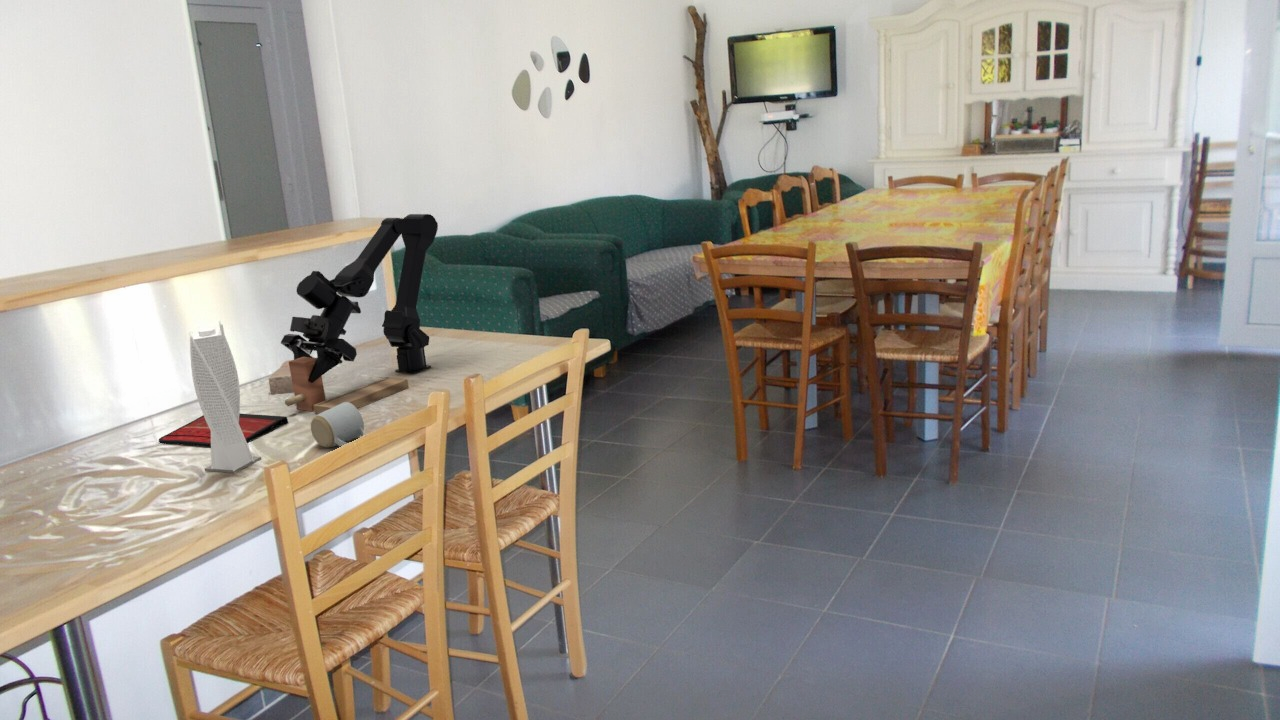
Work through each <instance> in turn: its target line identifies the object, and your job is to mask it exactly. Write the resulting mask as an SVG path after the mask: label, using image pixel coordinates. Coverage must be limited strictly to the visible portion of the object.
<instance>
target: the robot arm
mask: <svg viewBox="0 0 1280 720" xmlns="http://www.w3.org/2000/svg"><path fill="white" fill-rule="evenodd" d="M438 227H439V225H438V221H437V220H436V218H435V217H434V216H433V215H431V214H430V213H410V214H407V215H406V216H404V218H400V217H386V218H384V219H383V220H381V224H380V226H379V228H378V229H377V231H376V232H375V233H374V234H373V236H372V237H371V239H370V240H369V242H368V243H367V244H366V245H365V246H364V248H363V250H362V251H361V252H360V254H359V255H358V257H357V258H356V259H355V260H353V261H352V262H351V263H349V264H347V265H346V266H344V267H343V268H342V269H341V270H340V271H339V272H338V273H337V274H336V276H335V277H334V278H332V279H331V280H329V279H328V278H327V277H325V275H324V274H323V273H322V272H321V271H320V270H312V271H311V272H310V274H309V275H307V276H306V277H304V278H303V279H302V280H301V281H299V282H298V283H297V287H296V294H297V295H298V296H299V297H300V298H302V299H303V300H304V301H306V302H307V303H308V304H310V305H311V306H312V307H314V308H315V309H317V310H322V309H323V310H322V311H321V313H320V315H318V314H313V315H311V317H310V318H309V317H302V316H301V317H300V316H292V317H291V323H290V329H289V331H290V332H299V333H301V334H302V336H303V337H302V336H301V335H300V334H293V333H288V334H287V333H286V334H284V335H283V337H282V339H281V341H280V344H281V345H283V346H284V347H286V348H287V349H288V350H290V351H291V352H292V354H293V360H295V359H298V358H301V357H311V358H313V357H314V356H312V355H311V354H312V353H313V352H316V355H317V357H316V358H317V360H316V362H315V364H314V367H313V369H312V371H311V373H310V376H309V379H308V381H309V382H311V383H313V382H314V381H316V380H317V379H318V378H319V377H321V376H322V377H323V375H325V374H326V373H327V372H329V371H331V370H332V369H333V368H334V367H336V366H337V365H339V364H340V365H341V364H343V360H344V361H345V362H352V363H353V362H355V359H356V357H357V355H358V354H357V353H358V352H357V348H355V347H354V345H351V343H349V342H348V341H347V340H345V339H343V338H340V336H341V335H342V336H345V335H346V333H347V330H346V329H344V328H345V326H346V324H347V322H348V320H349V318H350V316H351V314H361V313H362V311H361V308H360V305H359V302H358V301H352V300H350V298H364V297H366V295H368V294H369V291H370V290H371V287H372V286H373V283H374V281H375V273H376V270H377V268H378V267H379V266H380V265H381V263H382V262H383V260H384V259H385V257H386V256H387V254H388V253H389V252H390V250H391V249H392V248H393V246H394V244H395V243H396V242H397V240H398V239H399V238H400V236H401V238H402V239H401V240H402V242H403V245H404V247H405V250H404V256H403V262H402V265H401V273H400V279H399V283H398V288H397V289H398V290H397V295H396V300H395V305H394V306H393V308H392V309H391V310H389V309H388V310H385V311H384V318H383V319H384V320H383V323H382V324H381V327H383V335H384V336H385V338H386V340H388V342H389V344H390V346H391V347H392V348H396V354H397V355H396V361H397V362H396V363H397V367H398V368H397V369H394V373H401V374H411V375H414V374H417V373H420V372H423V371H425V370H428V369H430V368H432V365H431V364H427V361H426V353H425V348H426V347H427V346H429V344H430V336H429V335H428V334H427V333H425V332H424V331H423V330H422V329H421V328H420V327H421V319H420V316H419V313H418V310H417V306H418V305H417V304H418V298H419V294H420V287H421V283H422V282H421V281H422V275H423V272H424V271H423V270H424V265H425V259H426V254H427V251H428V249H430V247H431V246H432V244H433V243H434V242H435V239H436V235H437V233H438V229H439V228H438ZM349 297H350V298H349ZM342 359H343V360H342Z"/></svg>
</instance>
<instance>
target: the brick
mask: <svg viewBox="0 0 1280 720" xmlns="http://www.w3.org/2000/svg"><path fill="white" fill-rule="evenodd" d="M312 357H313V358H316V357H314V356H312ZM292 360H293V359H291V360H290V359H289V360H285V361H283V363H281V366H280V367H279V368H278V369H277V370H275V371H274V372H272V373H271V375H270V376H269V377H268V385H269V392H270V394H271V395H281V394H291V393H292V394H294V389H293V383H292V378H291V372H290V367H289V361H292Z"/></svg>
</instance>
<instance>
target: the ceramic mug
mask: <svg viewBox="0 0 1280 720" xmlns="http://www.w3.org/2000/svg"><path fill="white" fill-rule="evenodd" d="M364 424H365V423H364V419H363V416H362V414H361V412H360V411H359V408H356V407H355V406H354V405H353V404H351V403H349V402H344V403H341V404H339V405H337V406H335V407H333V408H331V409H328V410H326V411H324V412H322V413H320V414H316V415H315V416H314V417H313V418H312V420H311V422H310V431H311V434H312V436H313V438H314V440H315V442H316V443H317V445H320V446H321V447H324V448H326V449H327V448H334V447H336V446H338V447H340V446H342V445H344V444H346V443H348V442H349V441H353V440H355V439H357V438H360V437H362V436H363V435H365V436H366V433H365V425H364Z"/></svg>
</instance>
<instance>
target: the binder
mask: <svg viewBox="0 0 1280 720" xmlns="http://www.w3.org/2000/svg"><path fill="white" fill-rule="evenodd" d="M280 424H281V425H282V424H284V425H287V424H289V419H288V417H287V416H282V415H266V414H251V413H239V426H240V428H241V430H242V432H243V435H244V437H245V439H246V442H247V443H249V442H251V441H253V440H256V439H259V438H261V437H263V436H265V435H268V434H269V433H272V432H273V431H275V430H276V428H273V427H274V426H276V425H280ZM159 442H160V443H164V444H163V445H181V444H183V445H184V446H197V445H199V447H200V446H201V447H210V446H211V430H210V428H209V426H208V424H207V422H206V420H205V418H204V415H203V414H202V415H201V416H200V417H197V418H196V419H194V420H192V421H190V422H188V423H186V424H183V426H181V427H178V428H176V429H175V430H173V431H171V432H169V433H167V434H165V435H163V436H161V437H160V438H159V439H158V443H159ZM160 443H159V444H160ZM165 443H166V444H165Z"/></svg>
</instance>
